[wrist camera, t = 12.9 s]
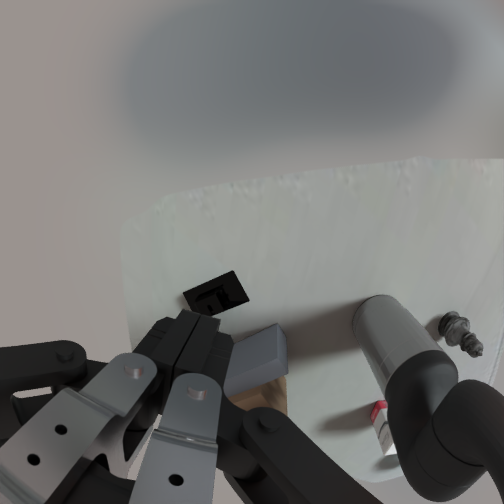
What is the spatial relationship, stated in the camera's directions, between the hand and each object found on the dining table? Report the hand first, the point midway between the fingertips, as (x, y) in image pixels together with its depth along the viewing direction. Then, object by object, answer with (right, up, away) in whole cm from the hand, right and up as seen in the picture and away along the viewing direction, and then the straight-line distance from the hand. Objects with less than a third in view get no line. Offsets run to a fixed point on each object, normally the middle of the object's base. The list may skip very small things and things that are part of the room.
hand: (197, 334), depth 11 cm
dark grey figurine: (+39, -10, +33) cm, 52 cm away
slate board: (-2, -14, +36) cm, 39 cm away
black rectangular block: (-4, -4, +35) cm, 35 cm away
